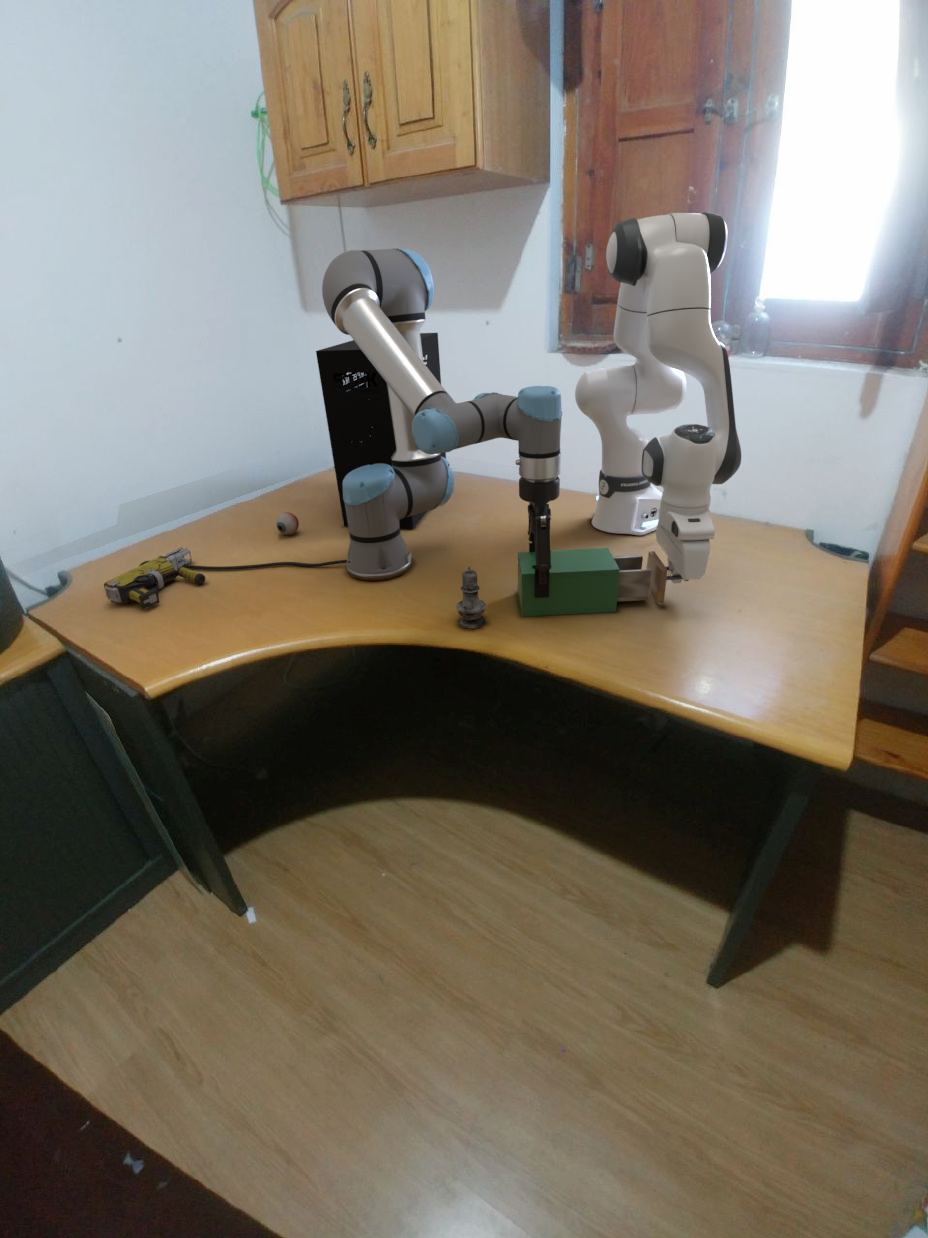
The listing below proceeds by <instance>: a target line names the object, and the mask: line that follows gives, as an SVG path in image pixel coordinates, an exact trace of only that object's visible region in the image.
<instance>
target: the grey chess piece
mask: <svg viewBox="0 0 928 1238" xmlns="http://www.w3.org/2000/svg"><path fill="white" fill-rule="evenodd" d="M461 583H462V586H461V587H460V590H461V592H462V600H459V602H457V603H456V604H455V608H456V610H457V612H458V614H459V616H460V618H459V619H458V624H459V626H460V627H462V628H464V629H478V628H480V627H482V626H484V625H485V623H486V618H485V617H484V616H483V615H484V613H485V611H486V610H485V609H486V608H487V603H486V602H485V601H484V600H482V599H480V597H479V596H480V595H479V591H480V589H481V587H480V586H479V585H478V583H479V582H478V573H477V571H475V570H473V569H472V568H471V566H469V565H468V567H467V569H466V570H464V571H463V572H462V574H461Z"/></svg>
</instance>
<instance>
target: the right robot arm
mask: <svg viewBox="0 0 928 1238" xmlns="http://www.w3.org/2000/svg"><path fill="white" fill-rule="evenodd" d="M728 235H729V234H728V226H727V222H726V221H725V219H724V218H723V216H722V215H720V214H717V213H715V212H714V213H713V212H708V211H703V212H701V213H695V212H668V213H667V214H660V215H653V216H646V217H641V218H636V217H632V218H629V219H625V220H623V221H620V222H618V223H616V225H615V226H614V227H613V229H612V230H611V232H610V235H609V239H608V242H607V245H606V250H605V251H606V252H605V259H606V265H607V270H608V274H609V275H610V277H612V279H613V280H614V281H616V282H619V283H620V285H619V290H618V294H617V295H618V296H617V303H616V309H615V311H616V312H615V317H614V325H613V326H614V327H613V333H612V334H613V335H612V336H613V341H614V343H615V345H616V346H617V348H618V349H620V351H622V352H624V353H625V354H628V355H629V356H631V357H634V358H635V363H634V364H631V365H621V366H620V365H619V366H604V367H599V368H595V369H592V370H591V369H590V370H588V371H585V372H584V373H582V375H581V376H580V378H578V381H577V383H576V385H575V390H574V398H575V402H576V405H577V407H578V409H579V410H580V412H581V413H582V414H583V415H585V416H586V417H588V418H589V419H590V420H591V421H592V422H593V424H594V426H595V427H596V429H597V431H598V434H599V436H600V437H599V438H600V441H601V442H600V443H601V468H600V470H599V474H598V492H599V493H598V495H596V501H597V502H596V507H595V511H594V514H593V517H592V520H591V525H592V526H593V527H594V528H595V529H597V530H599V531H601V532H605V533H611V534H623V535H625V534H626V535H632V536H633V535H634V536H645V535H646V534H650V533H652V532H654V531H655V540H656V542H657V543H658V545H659V546H660V548H661V549H662V550H663V552H664V554H665V556H667V567H669V570H668V572H667V576H681V577H682V578H683V579H677V580H670V582H672V583H673V584H681V582H682V580H683V581H684V580H689V581H696V580H701V579H703V577H704V576H705V574H706V571H707V566H708V562H709V557H710V551H711V542H710V541H711V540H713V539H714V538H715V535H716V528H715V525H714V522H713V520H712V517H711V510H710V509H711V508H710V507H711V500H712V499H711V498H712V497H711V487H712V485H723V484H725V483H726V482H728V481H729V480H730V479H731V478H732V477H733V476H734V475H735V474H736V472H738V470H739V469H740V466H741V463H742V448H741V444H740V439H739V436H738V430H737V423H736V414H735V404H734V393H733V392H734V391H733V383H732V375H731V373H732V372H731V365H730V359H729V354H728V351H727V347H726V346H725V344H724V343H723V342H721V341H719V340H718V339H717V337H716V335H715V332H714V329H713V326H712V321H711V303H712V301H711V300H712V295H711V293H712V291H711V290H712V288H711V287H712V286H711V274H712V273H714V272H715V271H716V270H717V269H718V268H719V266H720V265H721V264H722V262H723V260H724V259H725V258H724V257H725V254H726V250H727V245H728V237H729V236H728ZM685 374H687V375H689V376H691V377H692V378H695V379H696V380H697V381H698V382H699V383H700V385H701V387H702V389H703V394H704V403H705V412H706V423H707V426H706V425H702V424H698V423H686V424H681V425H679V426H677V427H675V428H673V430H672V431H671V433H669V434H664V435H663V434H662V435H659V436H655V437H653V438H651V439H650V440H648V438H647V437H646V435H645V434H644V433H643V432H641V431H639V430H638V429H636V428H633V427H631V426H629V425H628V424H627V417H629V416H634V415H653V414H654V415H655V414H656V415H657V414H661V413H664V412H668V411H672V410H675V409H677V408H678V407H679V406H680V405H681V403H683V400H684V398H685V396H686V393H687V388H688V387H687V386H688V384H687V378H686V375H685ZM655 486H656V487H662V489H663V491H662V492H661V491H660V490H659V489H658V488H656V487H655Z"/></svg>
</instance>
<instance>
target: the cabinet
mask: <svg viewBox="0 0 928 1238" xmlns="http://www.w3.org/2000/svg"><path fill="white" fill-rule="evenodd" d="M516 557H517V558H516V559H517V595H518V601H519V606H520V612H521V617H535V616H556V615H558V616H559V615H578V614H579V615H581V614H598V613H616V612H617V605H618V604H617V603H618V601H617V595H618V583H619V571H620V569H619V567H618V565H617V564H616V562H615V560H614V558H613V557H614V556H613V554H612V552H611V550H610V549H609V547H597V548H595V547H594V548H577V549H576V548H575V549H557V550H556V549H555V550H551V569H549V597H544V598H535V569H532V566H533V565H535V564H536V557H535V552H529V551H517V556H516Z"/></svg>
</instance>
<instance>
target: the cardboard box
mask: <svg viewBox="0 0 928 1238" xmlns="http://www.w3.org/2000/svg"><path fill="white" fill-rule="evenodd" d="M420 337H421V346H422V354H423V363H424V364H425V365H426V367H427V368H428V369H429V370H430V372H431V373H432V374H433V375H434V377H435V378H436V379H437V380H438V382H439V383H440V384H441V385H442V377H441V376H442V375H441V361H440V345H439V333H438V332H420ZM315 355H316V360H317V367H318V373H319V379H320V386H321V391H322V398H323V404H324V411H325V417H326V422H327V428H328V435H329V441H330V442H329V443H330V448H331V454H332V459H333V460H332V461H333V467H334V472H335V478H336V479H335V480H336V485H337V493H338V497H339V503H340V509H341V516H342V523H343V527H348V521H347V515H346V509H345V503H344V500H343V480H344V478H345V476H346V475H347V474H348V473H349V472H351V471H353V470H355V469H357V468H359V467H362V466H366V465H373V464H378V463H382V464H388V465H390V466H391V467H392V461H391V456H392V455H393V453H394V452H395V450H396V444H395V437H394V430H393V423H392V416H391V409H390V403H389V396H388V389H387V383H386V381H385V380H384V379H383V377H382V376H381V375H380V374H379V372H378V371H377V370H376V368H375V367H374V366H373V364H372V363H371V362H370V361H369V359H368V358H367V357H366V355H365V354H364V353H363V351H362V350H361V349H360V348H359V346H358V345H357V344H356V342H355V341H354V340H353V339H352V340H349V341H346V342H342V343H339V344H335V345H332V346H329V347H325V348H322V349H318V350H315ZM446 453H447V452H444V453H441V457H444V458H445V459H446V460H447V454H446ZM427 512H428V511H424V512H421V513H418V514H415V515H412V516H409V517H406V518H403V519H400V520H399V524H400V530H403V529H404V530H414V529H415V528H416V526H417V525H418V524H419V522H420V521H421V520H422V519H423V518H424V516H425V515H426V514H427Z"/></svg>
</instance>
